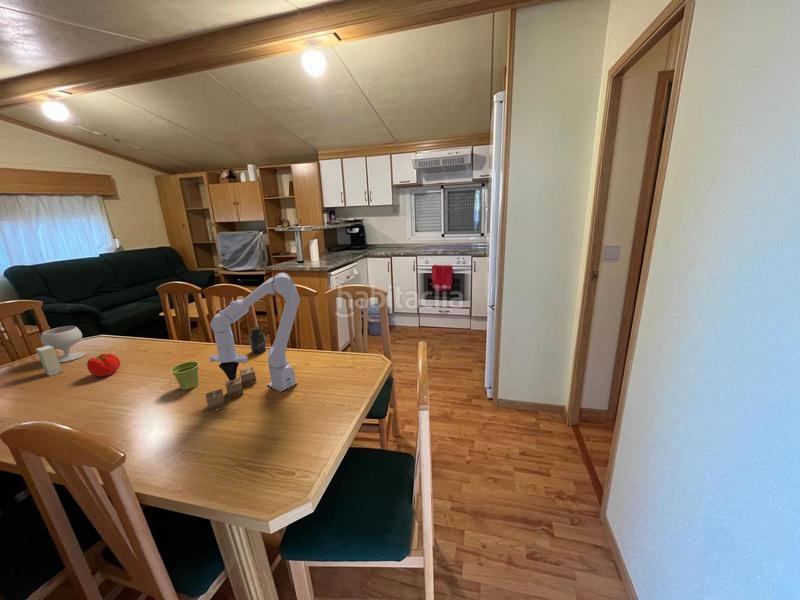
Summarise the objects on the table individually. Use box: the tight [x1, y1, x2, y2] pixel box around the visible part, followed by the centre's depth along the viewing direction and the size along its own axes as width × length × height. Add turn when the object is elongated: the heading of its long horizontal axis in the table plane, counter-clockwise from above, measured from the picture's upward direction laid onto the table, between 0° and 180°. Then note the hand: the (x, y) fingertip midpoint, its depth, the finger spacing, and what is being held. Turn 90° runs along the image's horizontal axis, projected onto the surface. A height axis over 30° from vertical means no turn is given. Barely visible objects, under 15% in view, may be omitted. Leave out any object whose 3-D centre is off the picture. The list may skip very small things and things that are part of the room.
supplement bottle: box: [248, 326, 267, 355], centre depth 157 cm, size 7×7×12 cm
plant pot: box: [170, 360, 200, 391], centre depth 126 cm, size 9×9×9 cm
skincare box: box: [35, 345, 63, 376], centre depth 142 cm, size 6×4×12 cm
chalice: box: [40, 325, 86, 364], centre depth 157 cm, size 14×14×15 cm
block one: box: [205, 388, 226, 412], centre depth 113 cm, size 5×5×5 cm
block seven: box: [239, 366, 257, 387], centre depth 129 cm, size 5×5×5 cm
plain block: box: [224, 376, 244, 399], centre depth 121 cm, size 5×5×5 cm
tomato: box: [86, 353, 121, 377], centre depth 140 cm, size 11×11×9 cm
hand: (232, 379), depth 120 cm, fingers closed
